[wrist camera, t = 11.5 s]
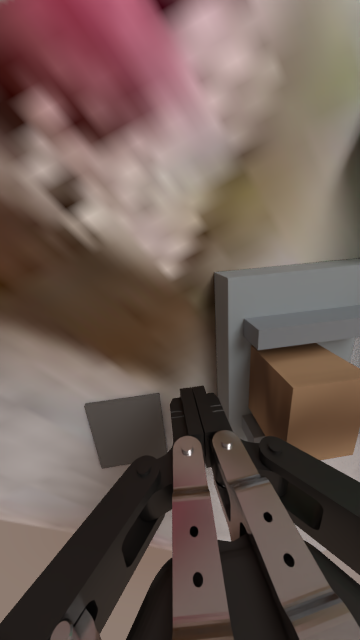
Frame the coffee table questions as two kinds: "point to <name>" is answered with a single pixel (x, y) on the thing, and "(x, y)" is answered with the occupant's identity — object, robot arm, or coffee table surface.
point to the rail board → (279, 323)
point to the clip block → (306, 398)
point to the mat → (127, 429)
